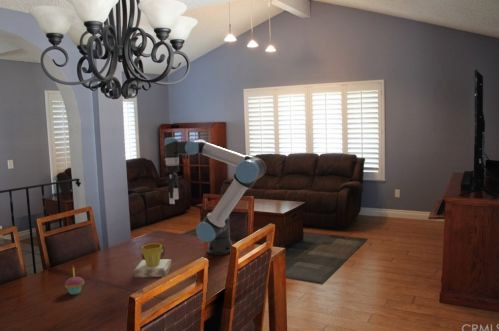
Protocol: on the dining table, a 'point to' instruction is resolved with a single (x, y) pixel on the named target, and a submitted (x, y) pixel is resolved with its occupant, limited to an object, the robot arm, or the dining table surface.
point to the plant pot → (152, 253)
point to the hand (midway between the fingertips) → (174, 201)
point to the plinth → (153, 269)
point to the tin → (160, 256)
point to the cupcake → (74, 284)
